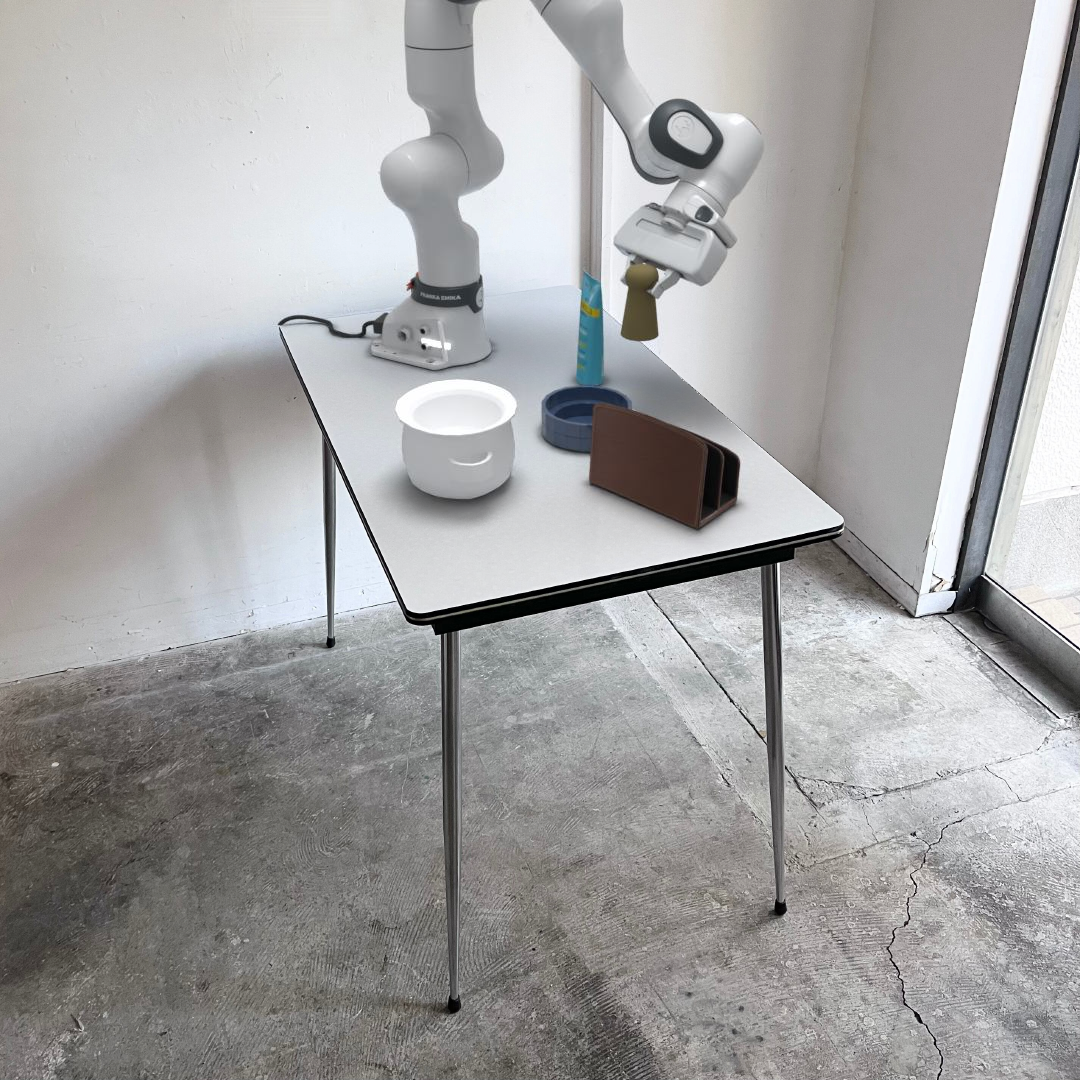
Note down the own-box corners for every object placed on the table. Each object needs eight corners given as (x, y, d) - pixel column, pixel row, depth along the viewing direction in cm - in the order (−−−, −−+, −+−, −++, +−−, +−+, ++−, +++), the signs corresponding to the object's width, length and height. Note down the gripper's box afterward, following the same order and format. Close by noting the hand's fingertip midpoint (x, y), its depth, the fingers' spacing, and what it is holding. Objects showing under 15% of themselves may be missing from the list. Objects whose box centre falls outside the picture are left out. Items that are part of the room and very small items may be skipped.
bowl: (529, 445, 172) (529, 417, 169) (557, 407, 183) (557, 380, 180) (617, 459, 168) (618, 430, 165) (640, 419, 179) (642, 391, 177)
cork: (656, 342, 169) (659, 273, 163) (617, 339, 170) (619, 271, 164) (660, 328, 174) (664, 260, 168) (623, 325, 175) (625, 258, 169)
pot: (541, 504, 157) (541, 428, 150) (425, 528, 151) (420, 450, 145) (490, 438, 174) (487, 367, 167) (385, 458, 168) (378, 386, 162)
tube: (568, 375, 194) (569, 270, 183) (592, 370, 196) (594, 266, 185) (588, 391, 188) (590, 284, 178) (612, 386, 190) (616, 279, 180)
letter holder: (697, 531, 150) (705, 440, 143) (587, 483, 162) (589, 397, 154) (737, 503, 157) (747, 414, 149) (629, 459, 168) (632, 375, 160)
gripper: (636, 188, 172) (586, 260, 173) (726, 218, 158) (671, 297, 159) (656, 211, 177) (607, 282, 177) (745, 243, 163) (692, 319, 163)
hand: (638, 289), depth 168 cm, fingers closed on cork, 5 cm apart
